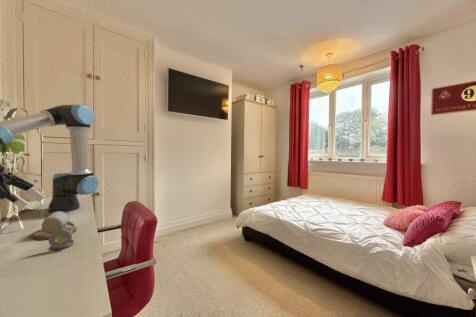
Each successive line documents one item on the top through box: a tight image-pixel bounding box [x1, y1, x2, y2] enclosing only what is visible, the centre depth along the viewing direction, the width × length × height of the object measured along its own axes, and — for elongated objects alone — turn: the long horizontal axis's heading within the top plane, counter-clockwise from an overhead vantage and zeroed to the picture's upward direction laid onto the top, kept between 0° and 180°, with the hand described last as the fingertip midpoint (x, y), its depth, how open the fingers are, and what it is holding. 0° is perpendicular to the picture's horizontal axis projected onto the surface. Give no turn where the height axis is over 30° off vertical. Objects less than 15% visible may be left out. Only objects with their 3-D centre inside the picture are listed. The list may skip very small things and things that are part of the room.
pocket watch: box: [48, 223, 75, 250], centre depth 76 cm, size 8×8×10 cm
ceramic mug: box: [41, 211, 76, 233], centre depth 90 cm, size 11×8×8 cm
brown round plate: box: [30, 225, 78, 241], centre depth 89 cm, size 15×15×1 cm
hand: (34, 202), depth 86 cm, fingers open, 13 cm apart
